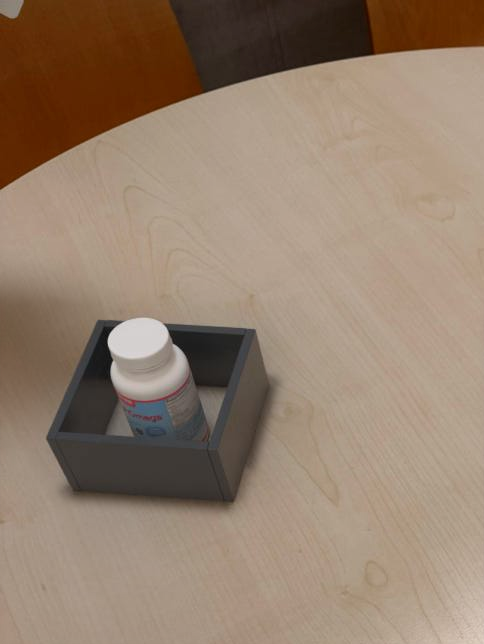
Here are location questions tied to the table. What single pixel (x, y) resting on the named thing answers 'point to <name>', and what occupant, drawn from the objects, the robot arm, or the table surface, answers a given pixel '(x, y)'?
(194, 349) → the open box
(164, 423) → the pill bottle
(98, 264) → the table surface
